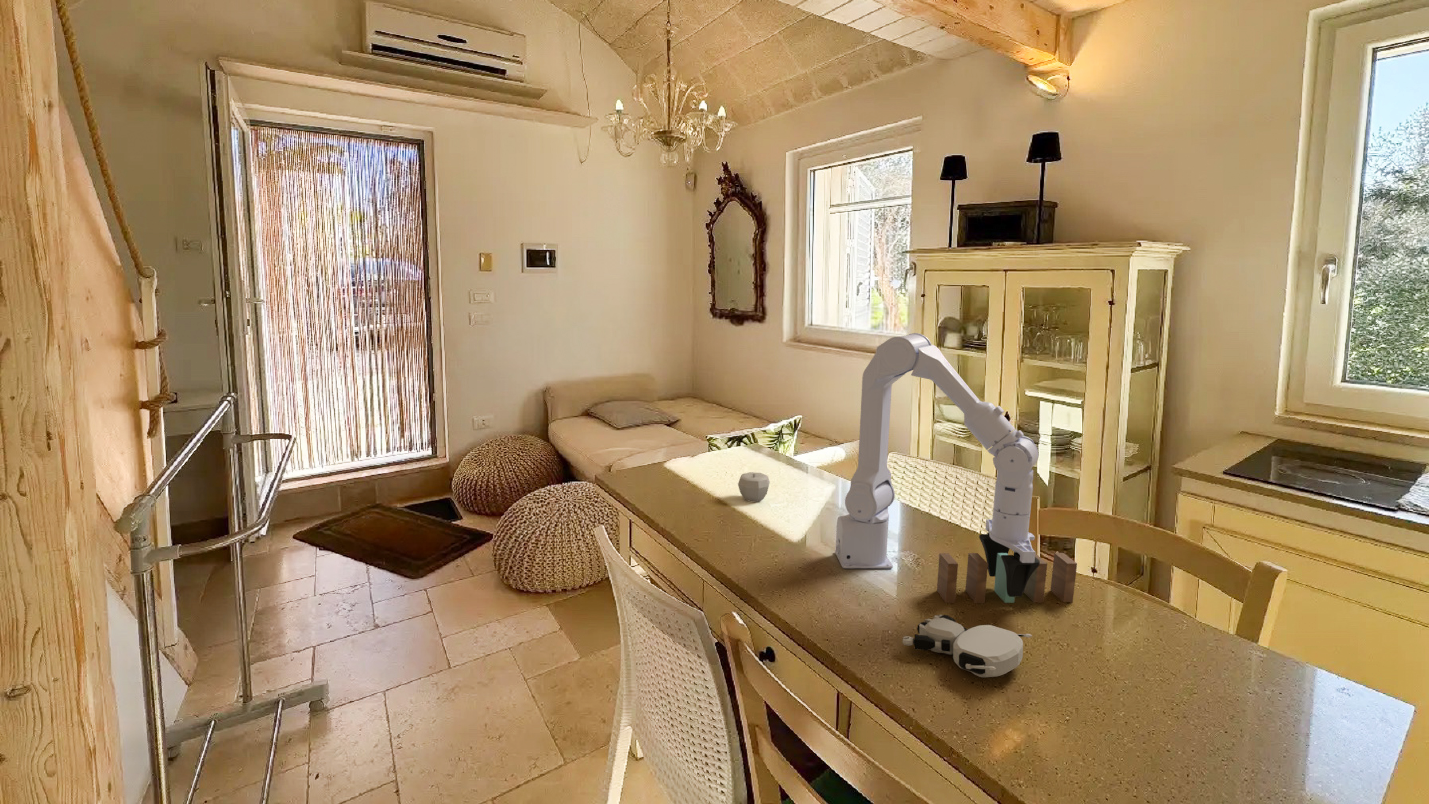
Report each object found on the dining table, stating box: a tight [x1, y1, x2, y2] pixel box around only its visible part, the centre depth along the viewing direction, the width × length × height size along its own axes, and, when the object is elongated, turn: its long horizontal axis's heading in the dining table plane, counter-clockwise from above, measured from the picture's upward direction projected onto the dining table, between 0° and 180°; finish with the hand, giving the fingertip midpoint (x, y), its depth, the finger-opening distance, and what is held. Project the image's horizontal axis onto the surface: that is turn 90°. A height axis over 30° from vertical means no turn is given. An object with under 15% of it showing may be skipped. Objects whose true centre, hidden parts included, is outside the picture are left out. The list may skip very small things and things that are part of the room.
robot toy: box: [902, 614, 1033, 679], centre depth 100 cm, size 12×4×15 cm
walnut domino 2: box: [964, 552, 988, 604], centre depth 119 cm, size 2×4×7 cm, turn 1°
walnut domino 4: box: [1050, 552, 1078, 603], centre depth 119 cm, size 2×4×7 cm, turn 1°
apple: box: [737, 471, 770, 503], centre depth 168 cm, size 8×8×7 cm
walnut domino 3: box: [1023, 553, 1048, 604], centre depth 119 cm, size 2×4×7 cm, turn 1°
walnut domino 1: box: [936, 552, 959, 604], centre depth 118 cm, size 2×4×7 cm, turn 1°
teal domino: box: [993, 553, 1016, 604], centre depth 119 cm, size 2×4×7 cm, turn 1°
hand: (1004, 585), depth 119 cm, fingers open, 7 cm apart
